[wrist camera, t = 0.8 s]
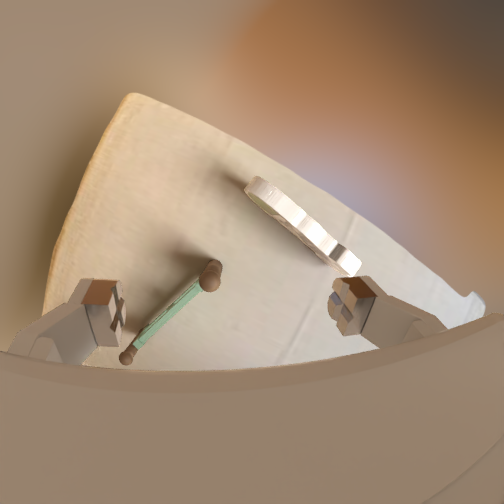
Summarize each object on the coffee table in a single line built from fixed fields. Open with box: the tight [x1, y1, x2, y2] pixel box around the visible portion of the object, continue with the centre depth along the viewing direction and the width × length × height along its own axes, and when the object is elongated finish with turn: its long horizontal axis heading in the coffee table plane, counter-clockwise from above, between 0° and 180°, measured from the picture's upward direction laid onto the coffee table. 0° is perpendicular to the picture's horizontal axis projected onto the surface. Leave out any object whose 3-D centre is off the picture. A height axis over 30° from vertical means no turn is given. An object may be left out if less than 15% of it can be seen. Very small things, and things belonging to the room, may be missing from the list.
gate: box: [133, 279, 203, 350], centre depth 50 cm, size 2×19×8 cm, turn 132°
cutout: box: [244, 176, 362, 277], centre depth 48 cm, size 15×3×25 cm
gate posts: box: [119, 260, 222, 365], centre depth 48 cm, size 3×25×14 cm, turn 132°
